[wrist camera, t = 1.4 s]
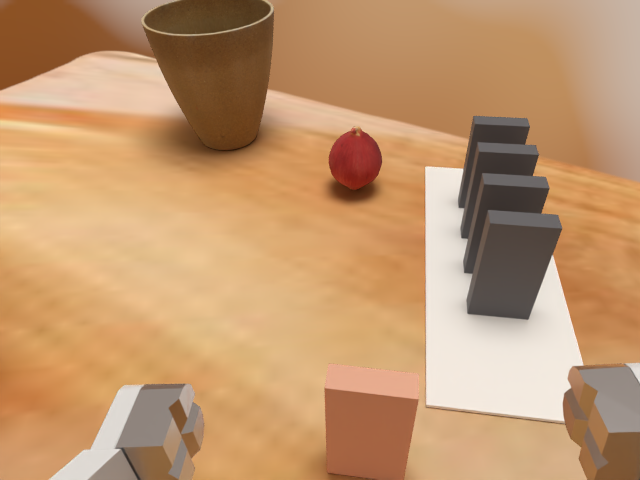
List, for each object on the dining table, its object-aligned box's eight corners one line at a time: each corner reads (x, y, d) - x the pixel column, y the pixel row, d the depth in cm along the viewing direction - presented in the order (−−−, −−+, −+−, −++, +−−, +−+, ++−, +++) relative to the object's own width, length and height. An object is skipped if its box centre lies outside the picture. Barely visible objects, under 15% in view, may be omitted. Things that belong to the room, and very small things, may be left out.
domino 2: (461, 238, 51) (479, 151, 45) (460, 228, 52) (477, 142, 46) (512, 242, 51) (538, 154, 44) (510, 231, 52) (535, 145, 45)
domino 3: (464, 273, 47) (484, 184, 41) (463, 261, 49) (482, 173, 42) (519, 277, 47) (549, 188, 40) (517, 265, 48) (545, 176, 41)
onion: (326, 176, 61) (325, 114, 55) (374, 172, 61) (377, 110, 56) (333, 205, 56) (332, 141, 51) (384, 200, 57) (389, 136, 52)
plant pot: (291, 112, 73) (283, -8, 63) (272, 169, 62) (259, 35, 52) (191, 108, 75) (166, -9, 64) (155, 164, 64) (118, 33, 53)
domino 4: (467, 313, 44) (490, 223, 37) (466, 300, 45) (488, 209, 38) (528, 319, 43) (562, 228, 37) (525, 305, 44) (557, 214, 38)
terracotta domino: (327, 472, 34) (324, 388, 28) (330, 449, 35) (328, 363, 29) (402, 483, 33) (418, 399, 27) (403, 459, 35) (418, 373, 28)
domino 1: (458, 208, 55) (474, 123, 48) (457, 199, 56) (473, 116, 50) (506, 211, 54) (529, 126, 48) (505, 202, 55) (527, 118, 49)
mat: (425, 406, 38) (426, 404, 37) (425, 168, 61) (425, 166, 61) (598, 427, 36) (600, 425, 36) (529, 175, 60) (529, 172, 60)
